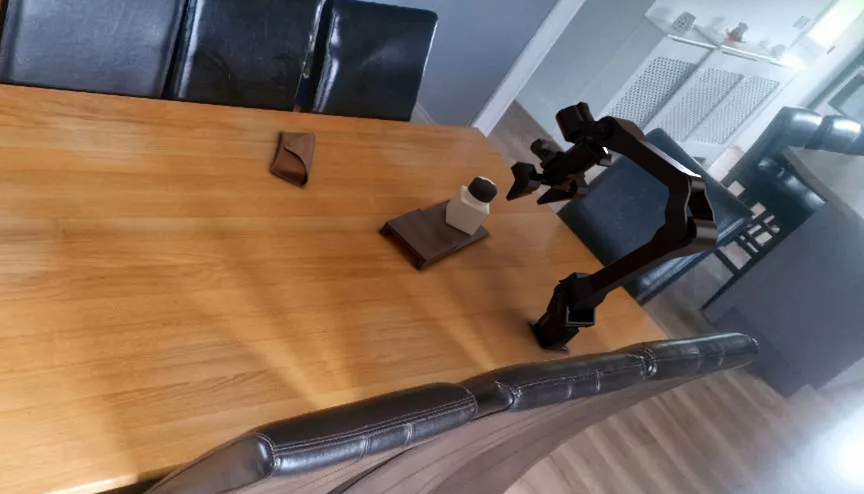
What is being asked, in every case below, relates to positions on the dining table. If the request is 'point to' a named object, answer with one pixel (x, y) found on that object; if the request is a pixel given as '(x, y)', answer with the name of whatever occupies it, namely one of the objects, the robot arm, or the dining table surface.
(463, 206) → the medicine bottle
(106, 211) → the dining table surface
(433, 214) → the step shelf
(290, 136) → the sunglasses case
